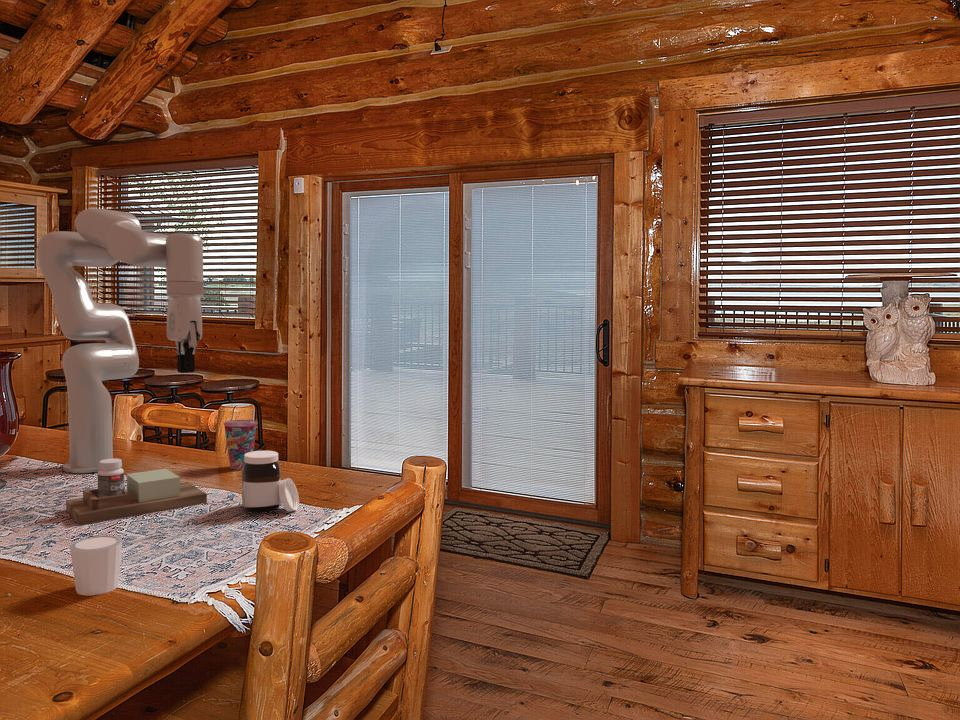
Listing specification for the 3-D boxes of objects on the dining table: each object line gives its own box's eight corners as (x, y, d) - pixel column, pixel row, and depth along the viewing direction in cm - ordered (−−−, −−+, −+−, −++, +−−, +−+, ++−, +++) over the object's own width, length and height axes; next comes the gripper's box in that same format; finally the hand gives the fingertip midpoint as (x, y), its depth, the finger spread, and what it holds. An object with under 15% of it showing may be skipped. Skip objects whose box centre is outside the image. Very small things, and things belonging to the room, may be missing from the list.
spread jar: (240, 503, 146) (240, 450, 145) (294, 498, 150) (294, 446, 149) (244, 520, 135) (244, 462, 134) (302, 514, 139) (302, 458, 138)
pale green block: (127, 492, 144) (126, 474, 144) (166, 486, 150) (166, 468, 149) (139, 502, 138) (138, 483, 137) (180, 495, 143) (179, 477, 143)
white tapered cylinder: (109, 574, 107) (108, 531, 106) (132, 585, 103) (131, 541, 102) (62, 589, 101) (61, 543, 101) (84, 601, 97) (83, 554, 97)
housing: (66, 509, 138) (65, 490, 138) (187, 490, 154) (187, 473, 154) (79, 525, 129) (78, 504, 129) (206, 502, 145) (206, 484, 145)
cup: (216, 469, 174) (215, 423, 173) (239, 462, 181) (239, 418, 180) (245, 473, 170) (244, 426, 169) (267, 466, 178) (267, 421, 177)
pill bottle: (113, 505, 136) (112, 464, 135) (92, 503, 137) (91, 462, 136) (129, 498, 140) (128, 458, 140) (109, 496, 141) (108, 457, 141)
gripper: (156, 289, 153) (158, 370, 155) (178, 289, 142) (179, 376, 144) (190, 290, 158) (191, 368, 160) (214, 290, 147) (215, 374, 149)
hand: (186, 372), depth 152 cm, fingers closed
